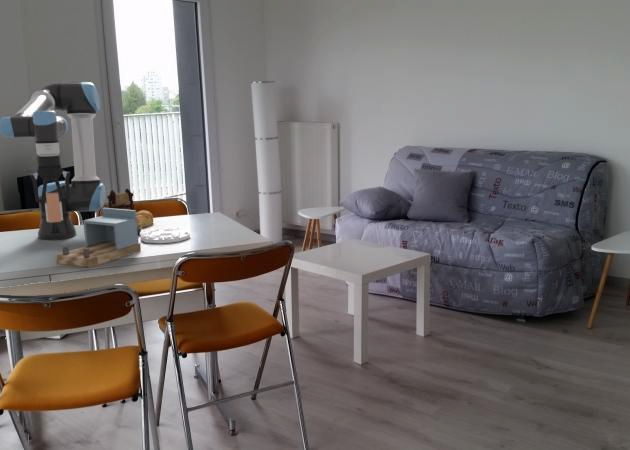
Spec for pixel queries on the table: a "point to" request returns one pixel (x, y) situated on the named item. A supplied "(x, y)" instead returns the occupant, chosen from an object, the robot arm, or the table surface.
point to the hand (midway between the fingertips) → (54, 220)
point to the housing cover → (112, 228)
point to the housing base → (95, 254)
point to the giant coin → (164, 235)
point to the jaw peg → (53, 207)
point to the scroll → (121, 202)
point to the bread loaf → (144, 218)
